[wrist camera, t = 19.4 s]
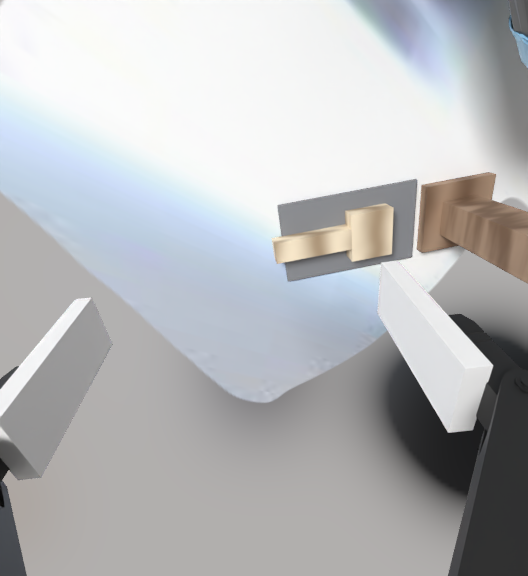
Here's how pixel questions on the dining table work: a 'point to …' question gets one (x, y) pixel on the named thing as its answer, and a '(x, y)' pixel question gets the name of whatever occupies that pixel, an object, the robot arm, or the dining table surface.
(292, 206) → the mat
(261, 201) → the dining table surface
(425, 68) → the dining table surface
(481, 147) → the dining table surface
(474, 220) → the stand
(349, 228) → the paddle
